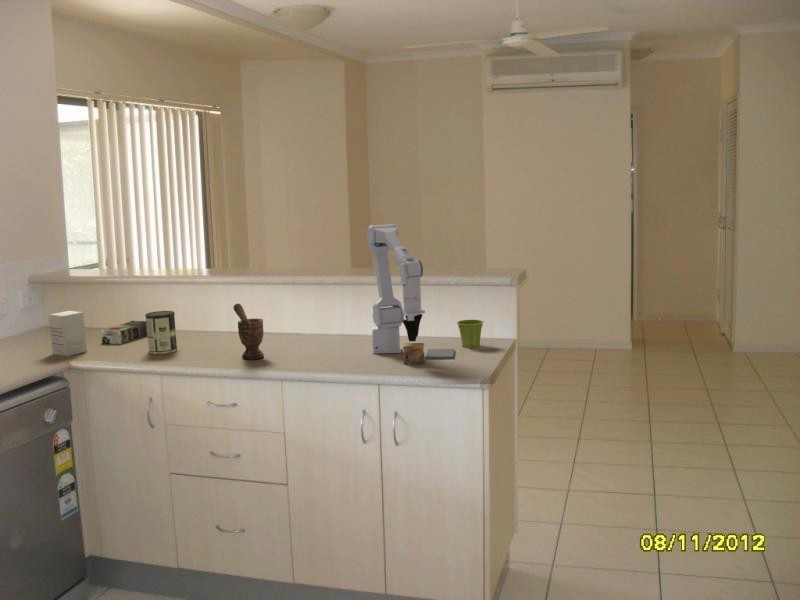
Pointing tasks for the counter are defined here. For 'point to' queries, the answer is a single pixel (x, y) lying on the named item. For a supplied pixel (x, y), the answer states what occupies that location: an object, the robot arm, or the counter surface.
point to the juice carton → (124, 332)
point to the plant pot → (470, 332)
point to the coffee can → (161, 332)
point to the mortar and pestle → (249, 334)
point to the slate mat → (440, 354)
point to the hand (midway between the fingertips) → (413, 338)
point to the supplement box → (67, 333)
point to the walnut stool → (413, 351)
